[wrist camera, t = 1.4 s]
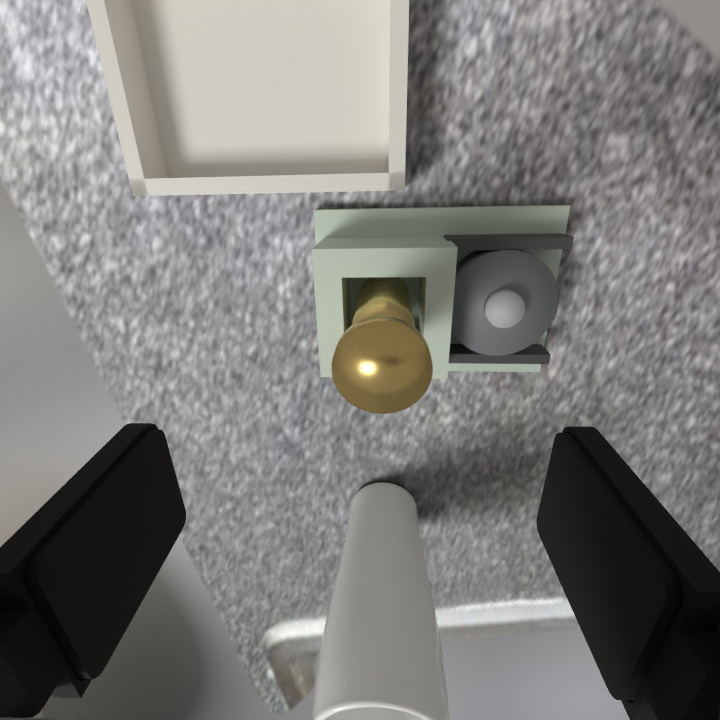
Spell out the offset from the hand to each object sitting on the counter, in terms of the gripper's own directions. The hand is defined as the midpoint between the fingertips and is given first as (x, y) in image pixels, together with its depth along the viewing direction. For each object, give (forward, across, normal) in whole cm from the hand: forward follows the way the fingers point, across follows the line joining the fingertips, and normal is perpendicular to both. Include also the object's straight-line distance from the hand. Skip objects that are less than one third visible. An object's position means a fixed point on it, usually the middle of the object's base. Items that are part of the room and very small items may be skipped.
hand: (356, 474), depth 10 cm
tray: (+17, +5, -11) cm, 21 cm away
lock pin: (+16, -1, 0) cm, 16 cm away
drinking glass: (+17, -1, +18) cm, 24 cm away
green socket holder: (+17, -4, 0) cm, 17 cm away
